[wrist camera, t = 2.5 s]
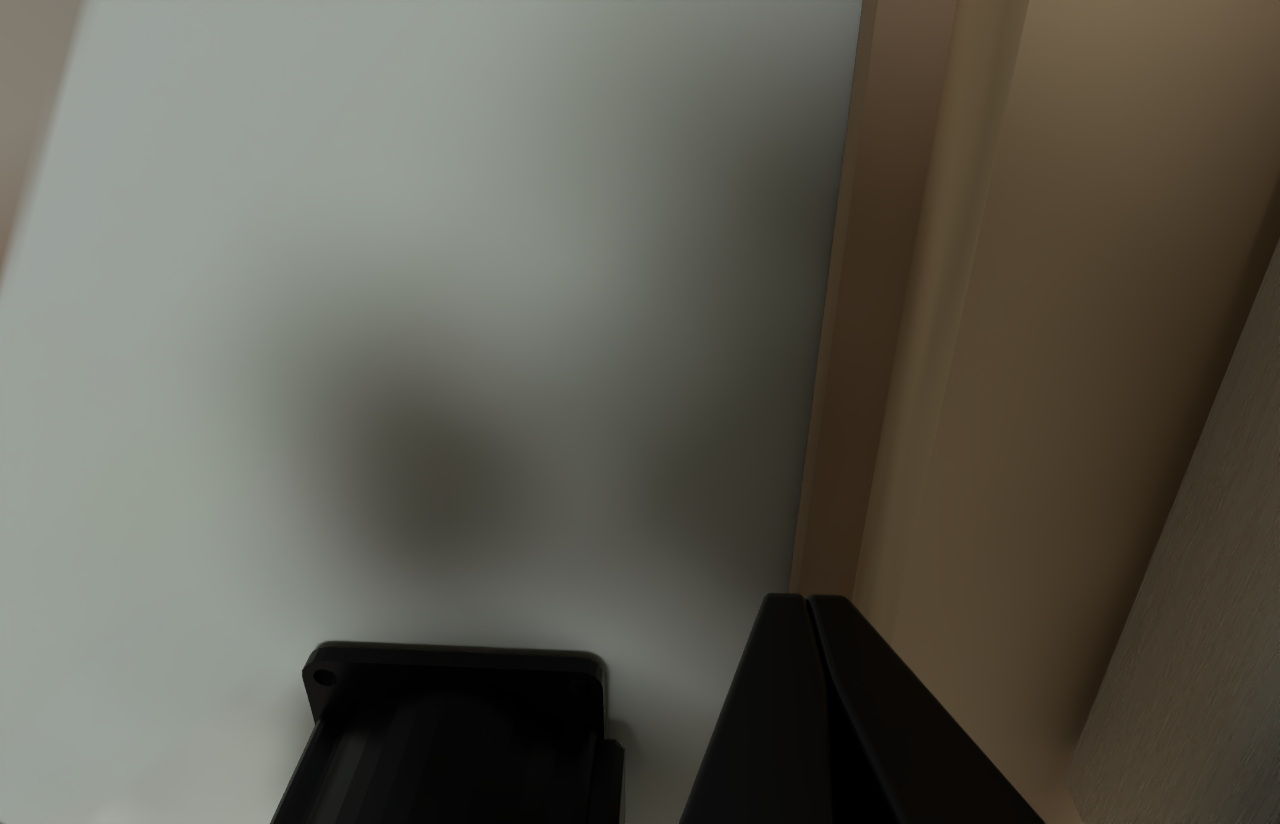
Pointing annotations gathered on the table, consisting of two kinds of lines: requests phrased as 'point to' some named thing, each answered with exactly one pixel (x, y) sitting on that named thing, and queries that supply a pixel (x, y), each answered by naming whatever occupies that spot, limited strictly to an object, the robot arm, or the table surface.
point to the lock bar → (1203, 626)
